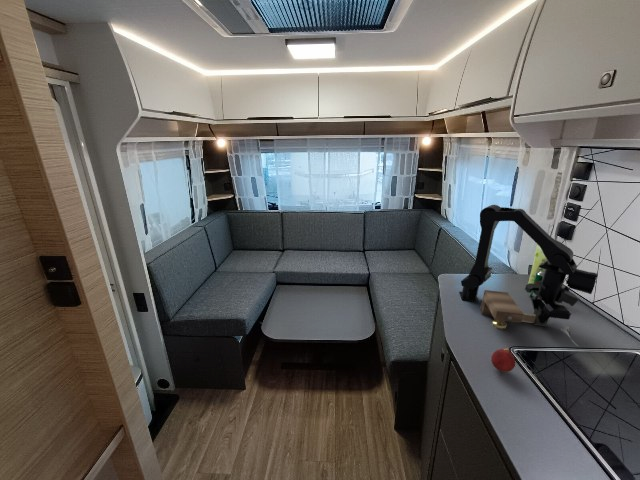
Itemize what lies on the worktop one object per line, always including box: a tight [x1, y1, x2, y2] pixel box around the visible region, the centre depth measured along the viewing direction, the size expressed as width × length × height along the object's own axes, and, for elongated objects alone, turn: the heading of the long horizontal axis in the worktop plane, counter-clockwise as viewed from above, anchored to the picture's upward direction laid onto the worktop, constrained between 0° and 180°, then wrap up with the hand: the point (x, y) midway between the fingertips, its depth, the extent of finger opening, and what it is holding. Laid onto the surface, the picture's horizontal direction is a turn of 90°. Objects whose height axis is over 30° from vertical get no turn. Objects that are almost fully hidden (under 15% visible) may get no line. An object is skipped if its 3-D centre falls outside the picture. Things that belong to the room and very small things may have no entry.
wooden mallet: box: [521, 308, 549, 327], centre depth 106 cm, size 3×17×5 cm, turn 78°
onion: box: [490, 348, 516, 373], centre depth 84 cm, size 6×6×8 cm
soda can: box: [529, 270, 545, 296], centre depth 120 cm, size 5×5×12 cm
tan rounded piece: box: [491, 319, 508, 330], centre depth 105 cm, size 4×4×2 cm
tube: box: [527, 243, 547, 284], centre depth 128 cm, size 6×5×20 cm
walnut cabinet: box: [479, 289, 524, 324], centre depth 105 cm, size 15×8×9 cm, turn 168°
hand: (539, 320), depth 105 cm, fingers closed on wooden mallet, 3 cm apart
